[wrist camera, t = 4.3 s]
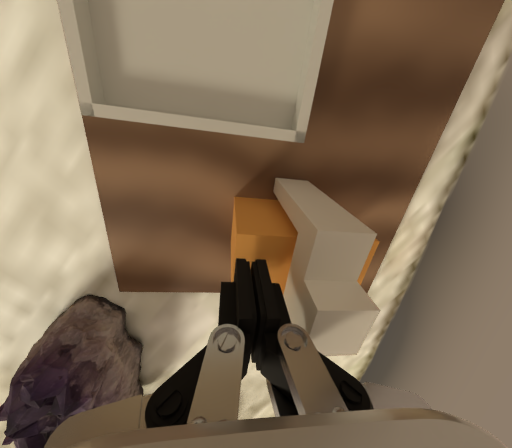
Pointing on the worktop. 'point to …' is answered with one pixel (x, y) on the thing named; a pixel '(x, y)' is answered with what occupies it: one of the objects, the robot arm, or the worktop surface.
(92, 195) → the worktop surface
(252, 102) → the tray
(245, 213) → the orange block
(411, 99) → the board
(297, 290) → the beige blocky piece
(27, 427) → the geode
